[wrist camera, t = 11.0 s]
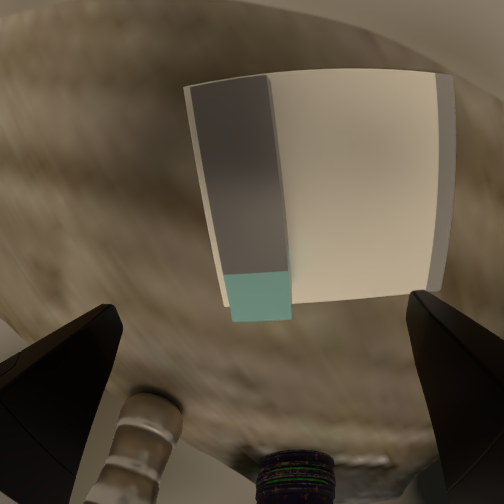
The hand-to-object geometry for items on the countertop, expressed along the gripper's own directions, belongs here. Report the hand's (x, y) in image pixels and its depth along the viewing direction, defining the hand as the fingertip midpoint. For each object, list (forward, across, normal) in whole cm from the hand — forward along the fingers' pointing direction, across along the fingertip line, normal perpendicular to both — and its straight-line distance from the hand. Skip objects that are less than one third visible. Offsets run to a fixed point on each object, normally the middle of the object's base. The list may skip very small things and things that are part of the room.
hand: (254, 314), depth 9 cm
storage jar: (+11, 0, +34) cm, 36 cm away
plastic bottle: (+11, +14, +20) cm, 27 cm away
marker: (+10, +1, -1) cm, 10 cm away
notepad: (+11, -4, 0) cm, 11 cm away
